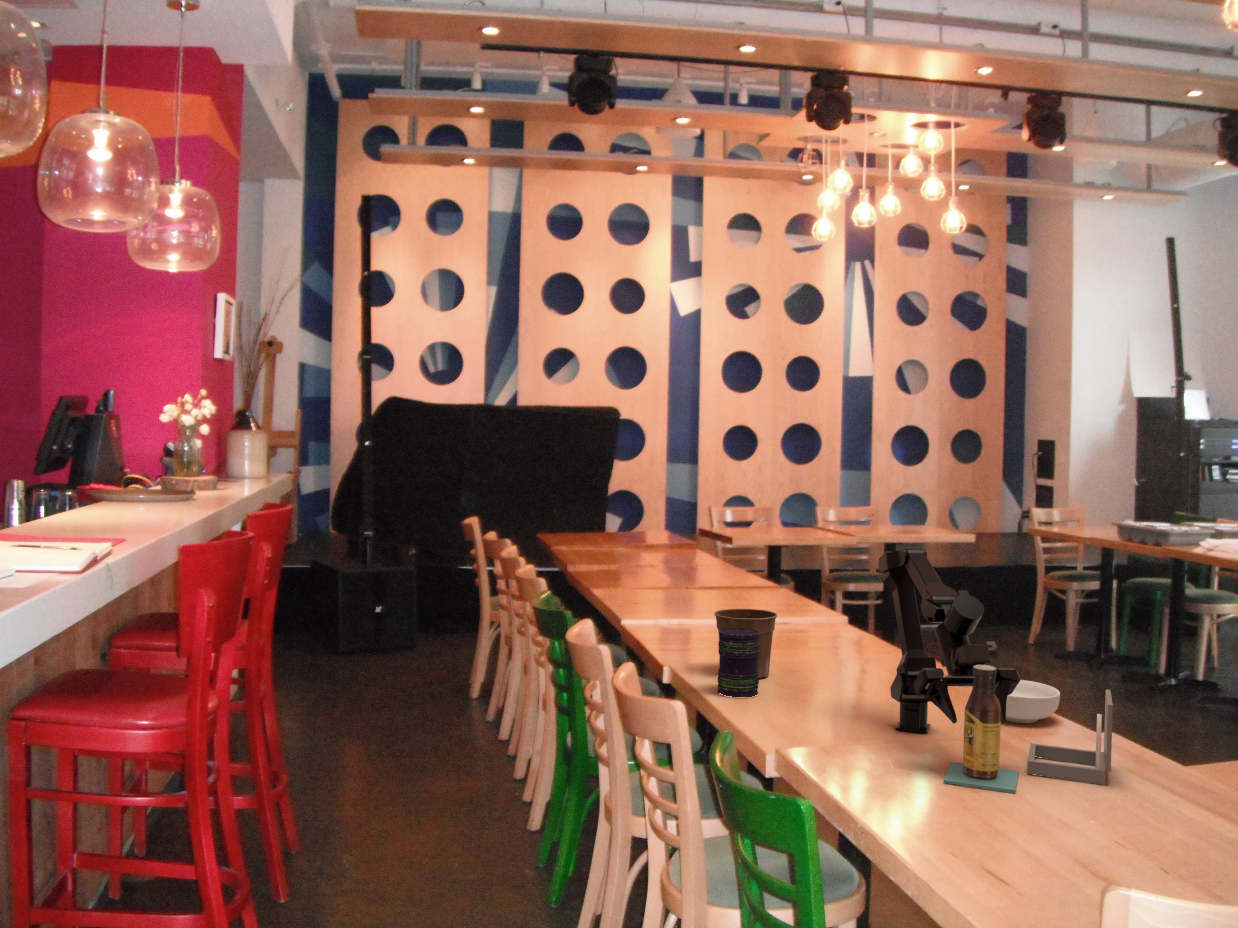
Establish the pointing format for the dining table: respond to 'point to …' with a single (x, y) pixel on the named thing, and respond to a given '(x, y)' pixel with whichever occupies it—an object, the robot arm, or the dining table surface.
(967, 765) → the sauce bottle
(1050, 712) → the cereal bowl
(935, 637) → the robot arm
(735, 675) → the storage jar
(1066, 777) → the open lid tray
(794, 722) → the dining table surface
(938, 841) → the dining table surface
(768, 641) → the plant pot
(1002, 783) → the rubber pad
